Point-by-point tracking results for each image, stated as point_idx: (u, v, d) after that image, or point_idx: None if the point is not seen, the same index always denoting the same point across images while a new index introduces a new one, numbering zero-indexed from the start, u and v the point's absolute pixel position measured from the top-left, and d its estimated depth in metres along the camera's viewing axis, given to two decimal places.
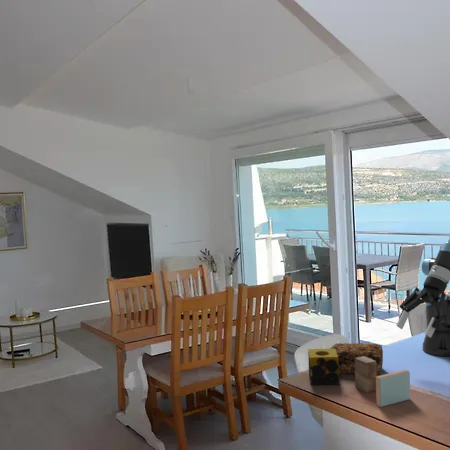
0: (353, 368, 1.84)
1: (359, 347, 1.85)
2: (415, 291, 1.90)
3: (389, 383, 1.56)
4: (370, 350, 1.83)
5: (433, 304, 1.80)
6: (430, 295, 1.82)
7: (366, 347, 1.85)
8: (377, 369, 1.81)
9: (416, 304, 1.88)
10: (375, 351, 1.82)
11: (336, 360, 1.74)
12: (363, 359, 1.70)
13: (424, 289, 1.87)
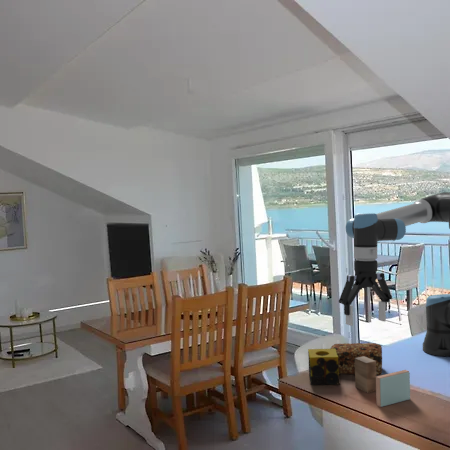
0: (354, 368, 1.84)
1: (360, 347, 1.85)
2: (353, 280, 1.66)
3: (389, 383, 1.56)
4: (371, 350, 1.83)
5: (378, 288, 1.70)
6: (374, 281, 1.68)
7: (367, 347, 1.85)
8: (379, 368, 1.81)
9: None
10: (376, 350, 1.83)
11: (336, 360, 1.74)
12: (363, 359, 1.70)
13: (361, 275, 1.67)
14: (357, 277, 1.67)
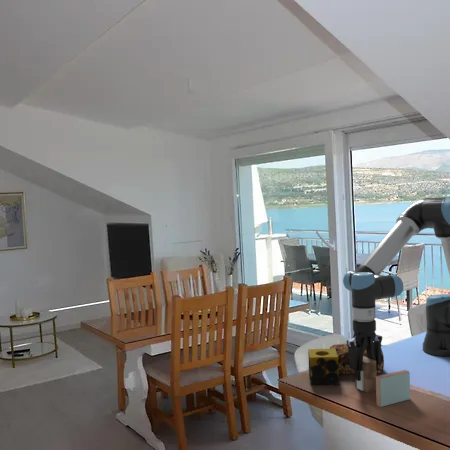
0: None
1: None
2: (354, 345, 1.66)
3: (389, 383, 1.56)
4: None
5: (372, 351, 1.69)
6: (372, 341, 1.68)
7: None
8: (381, 367, 1.83)
9: None
10: None
11: (336, 360, 1.74)
12: (363, 359, 1.70)
13: (359, 335, 1.67)
14: (356, 339, 1.67)
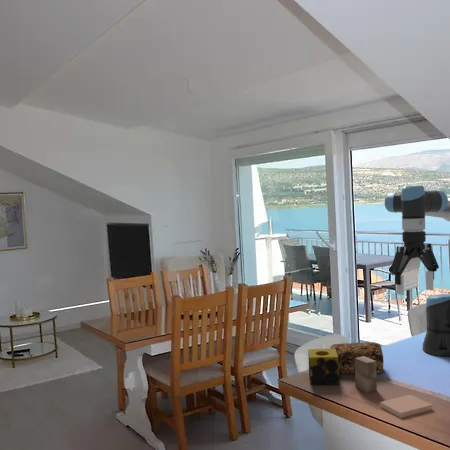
0: None
1: (361, 346, 1.86)
2: (403, 250, 1.71)
3: None
4: (372, 349, 1.84)
5: (426, 258, 1.76)
6: (422, 251, 1.74)
7: (367, 346, 1.86)
8: (380, 367, 1.83)
9: None
10: (377, 349, 1.84)
11: (336, 360, 1.74)
12: (363, 359, 1.70)
13: (410, 245, 1.73)
14: (407, 248, 1.72)
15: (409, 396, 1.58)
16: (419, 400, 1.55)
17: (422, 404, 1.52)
